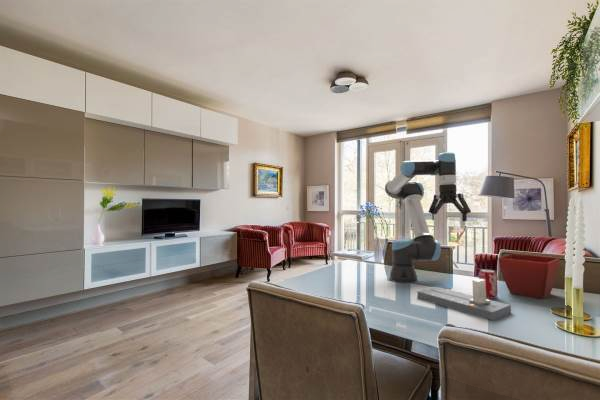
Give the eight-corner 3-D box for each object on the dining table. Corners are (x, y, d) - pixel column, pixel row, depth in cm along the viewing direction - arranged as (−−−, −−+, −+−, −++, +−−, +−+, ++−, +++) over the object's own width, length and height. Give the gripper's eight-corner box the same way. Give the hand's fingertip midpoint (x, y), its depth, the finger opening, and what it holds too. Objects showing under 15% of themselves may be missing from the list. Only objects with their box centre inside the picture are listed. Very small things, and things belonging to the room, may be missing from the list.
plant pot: (513, 285, 150) (511, 253, 150) (561, 294, 135) (559, 257, 135) (498, 292, 139) (497, 257, 139) (549, 302, 123) (548, 263, 124)
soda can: (499, 296, 133) (498, 270, 133) (496, 300, 128) (495, 273, 128) (481, 293, 138) (480, 268, 138) (477, 297, 133) (477, 270, 133)
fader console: (436, 292, 140) (435, 286, 140) (510, 312, 113) (510, 304, 113) (417, 297, 133) (417, 290, 133) (492, 320, 105) (492, 311, 106)
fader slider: (477, 299, 120) (476, 277, 120) (490, 302, 115) (489, 280, 116) (469, 302, 117) (468, 279, 117) (482, 305, 112) (481, 282, 113)
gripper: (420, 186, 150) (421, 226, 149) (469, 181, 129) (470, 229, 128) (429, 186, 154) (430, 225, 153) (478, 182, 132) (479, 228, 132)
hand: (449, 227), depth 141 cm, fingers open, 13 cm apart
